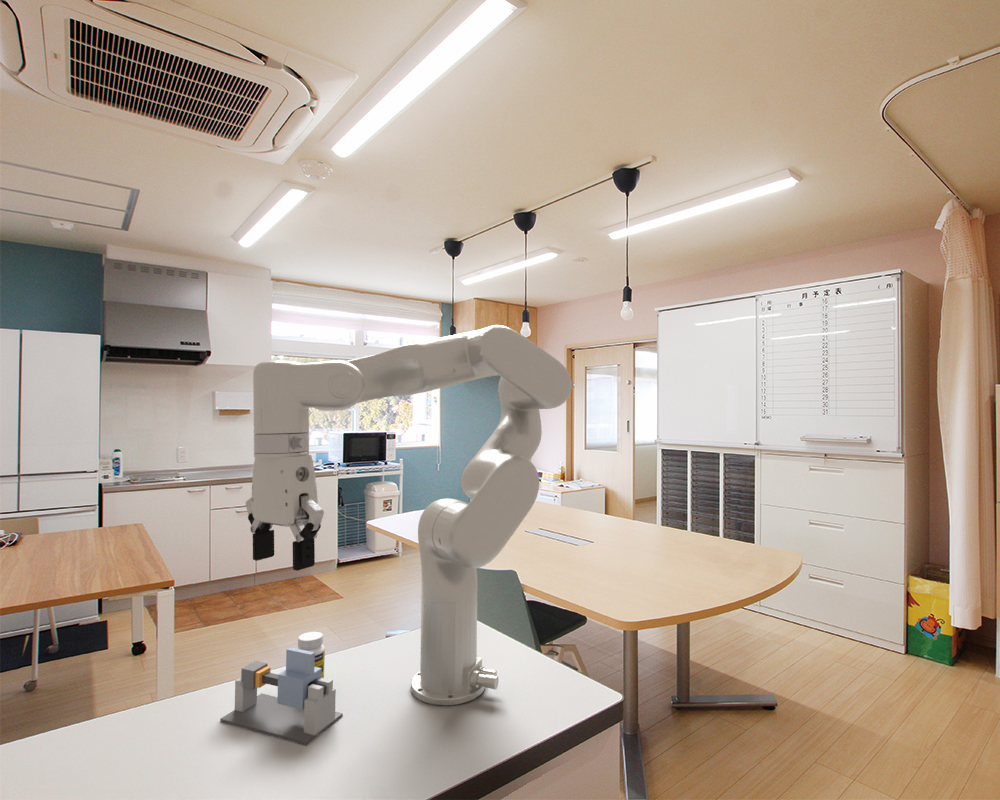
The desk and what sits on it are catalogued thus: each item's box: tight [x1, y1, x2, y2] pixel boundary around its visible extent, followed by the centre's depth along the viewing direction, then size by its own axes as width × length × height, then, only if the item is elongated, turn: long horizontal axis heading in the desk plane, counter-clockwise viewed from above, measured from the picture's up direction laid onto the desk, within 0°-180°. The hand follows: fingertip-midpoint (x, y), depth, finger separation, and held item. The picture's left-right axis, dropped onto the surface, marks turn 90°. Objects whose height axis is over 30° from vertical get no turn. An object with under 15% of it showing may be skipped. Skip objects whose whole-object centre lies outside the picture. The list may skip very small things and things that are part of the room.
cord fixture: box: [219, 660, 344, 746], centre depth 81 cm, size 16×8×7 cm, turn 69°
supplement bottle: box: [296, 631, 326, 678], centre depth 91 cm, size 5×5×8 cm
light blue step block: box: [277, 647, 322, 710], centre depth 80 cm, size 5×4×7 cm
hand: (283, 563), depth 79 cm, fingers open, 9 cm apart
